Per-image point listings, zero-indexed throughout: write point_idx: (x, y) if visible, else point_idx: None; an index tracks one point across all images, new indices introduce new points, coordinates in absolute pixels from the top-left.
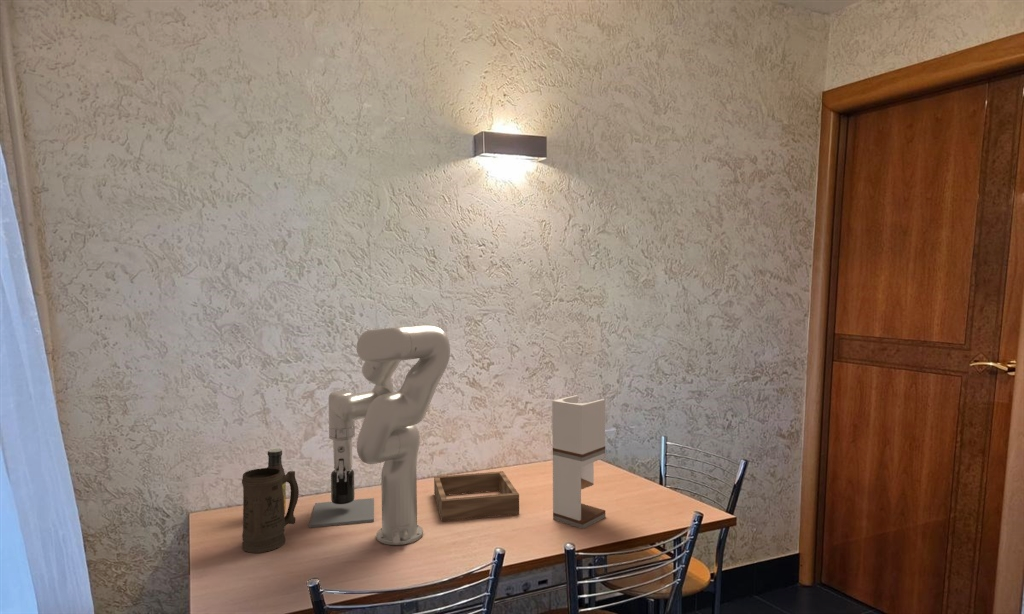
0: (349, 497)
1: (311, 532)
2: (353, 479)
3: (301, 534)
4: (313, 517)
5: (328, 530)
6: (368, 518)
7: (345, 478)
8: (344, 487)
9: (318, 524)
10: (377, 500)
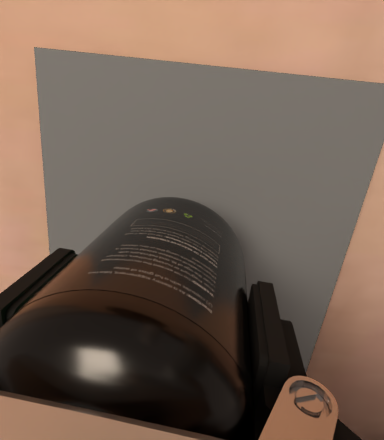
0: (235, 246)
1: (356, 364)
2: (181, 277)
3: (356, 393)
4: None
5: (374, 309)
6: (370, 118)
7: (331, 434)
8: (299, 350)
9: (314, 345)
10: (44, 26)
